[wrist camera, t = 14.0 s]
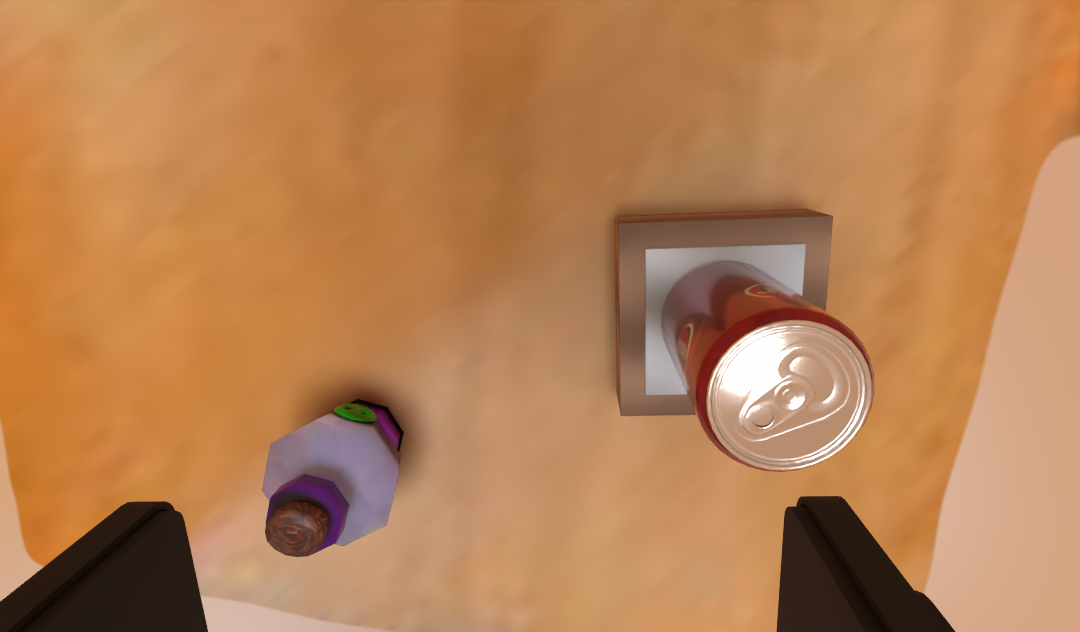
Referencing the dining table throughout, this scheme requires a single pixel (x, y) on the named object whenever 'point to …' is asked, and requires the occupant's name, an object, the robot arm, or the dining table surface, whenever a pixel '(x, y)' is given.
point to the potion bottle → (332, 479)
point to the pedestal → (680, 248)
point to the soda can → (766, 367)
